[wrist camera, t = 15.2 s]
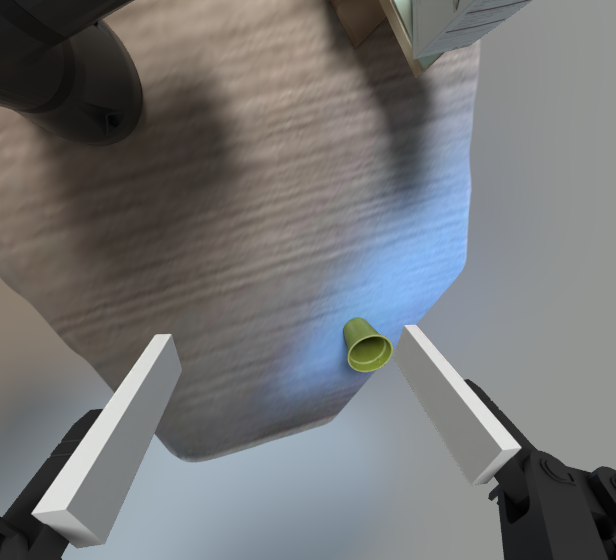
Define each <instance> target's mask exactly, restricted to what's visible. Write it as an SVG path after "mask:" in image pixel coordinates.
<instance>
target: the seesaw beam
mask: <svg viewBox="0 0 616 560" xmlns="http://www.w3.org/2000/svg"><path fill="white" fill-rule="evenodd" d="M379 1H380V3H381V6H382V8H383V10H384V12H385V14H386V16H387V18H388V21H389V23H390V25H391V27H392V29H393V31H394V34H395V36H396V38H397V40H398V42H399V44H400V46H401V49H402V51H403V53H404V55H405V57H406V59H407V62H408V64H409V66H410V68H411V70H412V72H413V74H414V77H415V79H416V78H417V77H418V76H420V75H421V74H422V73H423V72H424V71H425V70H426V69H428V68H429V67H430V66H431V65H432V64H433V63H434V62H435V61H436V60H437V59H438V58H439V57H440V56H441V55H442V54H444V53H445V52H443V53H439V54H434V55H430V56H426V57H422V58H417V59H413V6H412V0H379Z"/></svg>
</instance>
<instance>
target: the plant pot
mask: <svg viewBox="0 0 616 560" xmlns="http://www.w3.org/2000/svg"><path fill="white" fill-rule="evenodd" d="M343 332H344V336H345V340H346V344H347V348H348V355H347V359H348V363H349V365H350V366H351V367H352V368H353V369H354V370H356V371H360V372H371V371H374V370H377V369H379V368H380V367H382V366H383V365H385V364H386V363H387V362H388V361H389V359H390V358H391V356H392V353H393V346H392V343H391V341H390V340H389V339H388V338H387V337H385V336H383V335H381V334H379V333H378V332H377V331H376V330H375V329H374V328H373V327H372V326H371V325H370V324H369V323H368V322H367V321H366V320H364V319H362V318H354V319H352V320H350V321H349V322H348V323H347V324H346V325H345V326H344V330H343Z"/></svg>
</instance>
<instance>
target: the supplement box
mask: <svg viewBox="0 0 616 560" xmlns="http://www.w3.org/2000/svg"><path fill="white" fill-rule="evenodd" d="M531 1H532V0H412V6H413V59H417V58H422V57H426V56H430V55H434V54H439V53H443V52H447V51H451V50H455V49H459V48H464V47H468V46H470V45H471V44H473V43H474V42H476V41H477V40H478V39H480V38H481V37H483V36H484V35H485V34H487V33H488V32H490V31H491V30H492V29H494V28H495V27H496V26H498V25H499V24H501V23H502V22H503V21H505V20H506V19H508V18H509V17H510V16H512V15H513V14H514V13H516V12H517V11H518V10H520V9H521V8H523V7H524V6H525V5H527V4H528V3H529V2H531Z"/></svg>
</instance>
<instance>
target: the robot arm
mask: <svg viewBox="0 0 616 560" xmlns="http://www.w3.org/2000/svg"><path fill="white" fill-rule="evenodd" d="M132 1H134V0H0V106H1V107H5V108H9V109H12V110H14V111H16V112H17V113H19V114H20V115H22V116H24V117H25V118H27V119H29V120H30V121H32V122H34V123H35V124H37V125H39V126H40V127H42V128H44V129H45V130H47V131H49V132H51V133H53V134H55V135H58V136H60V137H62V138H65V139H68V140H71V141H75V142H80V143H85V144H90V145H108V144H112V143H116V142H118V141H120V140H122V139H124V138H125V137H126V136H128V135H129V134H130V133H131V131H132V130H133V129H134V127H135V126H136V124H137V122H138V119H139V116H140V112H141V106H142V93H141V86H140V81H139V77H138V74H137V71H136V68H135V65H134V63H133V61H132V59H131V57H130V55H129V53H128V51H127V49H126V48H125V46H124V45H123V43H122V42H121V40H120V39H119V37H118V36H117V35H116V34H115V32H114V31H113V30H112V29H111V28H110V27H109V26H108V25H107V24H106V23H105V22H104V21H103V20H102V19H103V18H105V17H107V16H108V15H110V14H112V13H113V12H115V11H117V10H119V9H120V8H122V7H124V6H126V5H127V4H129V3H131V2H132ZM393 358H394V360H395V362H396V363H397V365H398V367H399V368H400V370H401V372H402V373H403V375H404V377H405V378H406V380H407V381H408V383H409V385H410V387H411V388H412V390H413V392H414V393H415V395H416V397H417V398H418V400H419V402H420V403H421V405H422V407H423V408H424V410H425V412H426V413H427V415H428V416H429V418H430V420H431V421H432V423H433V425H434V426H435V428H436V430H437V431H438V433H439V435H440V436H441V438H442V440H443V441H444V443H445V444H446V446H447V448H448V450H449V451H450V453H451V455H452V456H453V458H454V460H455V461H456V463H457V464H458V466H459V468H460V470H461V471H462V473H463V475H464V476H465V478H466V479H467V481H468V483H469V485H470V486H473V485H479V484H486V483H488V482H489V481H490V480H491V479H492V477H493V476H494V477H495V478H496V480H497V481H498V483H499V485H497V486H496V487H495V488H494V489H493V490H492V491H491V492H490V493H489V498H488V499H490V500H491V501H492V500H493V499H494V498H495V497H497V496H498V502H497V504H498V505H499V514H500V523H501V533H502V543H503V552H504V560H616V470H614V469H612V468H609V467H603V466H602V467H599V468H597V469H596V470H595V471H593V472H592V473H591V472H587V471H583V470H579V469H575V468H571V467H567V466H565V465H564V464H563V463H562V462H561V461H559V460H558V459H557V458H555V457H553V456H552V455H550V454H548V453H545V452H542V451H538V450H537V449H536V448H535V447H534V446H533V445H532V444H531V443H530V442H529V441H528V440H527V439H526V437H525V436H524V435H523V434H522V433H521V432H520V431H519V430H518V429H517V428H516V426H515V425H514V424H513V423H512V422H511V421H510V420H509V419H508V418H507V417H506V416H505V414H504V413H503V412H502V411H501V410H499V409H498V407H497V406H496V404H494V402H493V401H491V400H490V398H489V397H488V396H487V395H486V393H485V392H484V391H483V390H482V389H481V388H480V387H478V386H477V385H476V384H474V383H473V382H472V381H470V380H469V379H466V380H463V379H462V378H461V377H460V376H459V374H457V372H456V371H455V370H454V369H453V367H451V365H450V364H449V363H448V362H447V360H445V358H444V357H443V356H442V355H441V354H440V352H439V351H438V350H437V349H436V348H435V347H434V345H433V344H432V343H431V342H430V341H429V340H428V339H427V337H426V336H425V335H424V334H423V333H422V332H421V330H420V329H419V328H418V327H417V326H416V325H404V327H403V330H402V333H401V336H400V339H399V342H398V345H397V348H396V351H395V354H394V357H393ZM181 372H182V368H181V365H180V361H179V358H178V354H177V351H176V347H175V344H174V341H173V337H172V334H157V335H155V336H154V338H153V339H152V340H151V342H150V343H149V345H148V346H147V348H146V349H145V351H144V352H143V353H142V355H141V356H140V358H139V359H138V361H137V362H136V363H135V365H134V366H133V368H132V369H131V371H130V372H129V374H128V375H127V376H126V378H125V379H124V381H123V382H122V384H121V385H120V387H119V388H118V389H117V391H116V392H115V394H114V395H113V397H112V398H111V400H110V401H109V402H108V404H107V405H106V407H105V408H104V409H96V410H90V411H89V412H88V413H86V414H85V415H84V416H83V417H82V418H81V419H79V420H78V421H77V422H76V423H75V424H74V425H73V426H72V427H71V429H70V430H69V431H68V433H67V434H66V435H65V437H64V438H63V439H62V442H61V443H60V444H58V446H57V447H56V448H55V450H54V451H53V452H52V453H51V456H50V458H48V459H47V460H46V461H45V463H44V464H43V465H42V467H41V468H40V469H39V470H38V472H37V473H36V474H35V476H34V477H33V478H32V480H31V481H30V482H29V483H28V485H27V486H26V487H25V489H24V490H23V491H22V493H21V494H20V495H19V496H18V498H17V499H16V500H15V502H14V503H13V504H12V506H11V507H10V508H9V509H8V511H7V512H6V513H5V515H4V516H3V517H0V560H62V558H61V556H62V555H63V553H64V551H65V549H66V547H67V545H68V544H69V543H71V544H72V545H74V546H75V547H76V548H82V547H88V546H95V545H101V544H105V542H106V540H107V538H108V536H109V533H110V531H111V529H112V527H113V524H114V522H115V520H116V518H117V515H118V513H119V511H120V509H121V506H122V504H123V502H124V500H125V497H126V495H127V493H128V491H129V489H130V486H131V484H132V482H133V479H134V477H135V475H136V473H137V470H138V468H139V466H140V464H141V462H142V459H143V457H144V455H145V453H146V450H147V448H148V446H149V444H150V441H151V439H152V437H153V435H154V433H155V430H156V428H157V426H158V424H159V421H160V419H161V417H162V415H163V412H164V410H165V408H166V406H167V403H168V401H169V399H170V397H171V394H172V392H173V390H174V388H175V386H176V383H177V381H178V379H179V377H180V374H181Z"/></svg>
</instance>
